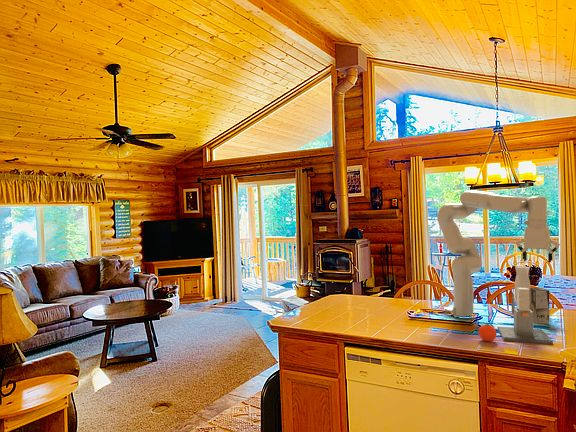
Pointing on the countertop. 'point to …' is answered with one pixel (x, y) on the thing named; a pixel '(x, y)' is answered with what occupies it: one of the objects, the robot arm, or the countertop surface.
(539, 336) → the stand
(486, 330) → the clementine
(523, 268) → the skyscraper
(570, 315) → the countertop surface
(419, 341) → the countertop surface
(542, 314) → the coffee box
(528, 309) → the column
